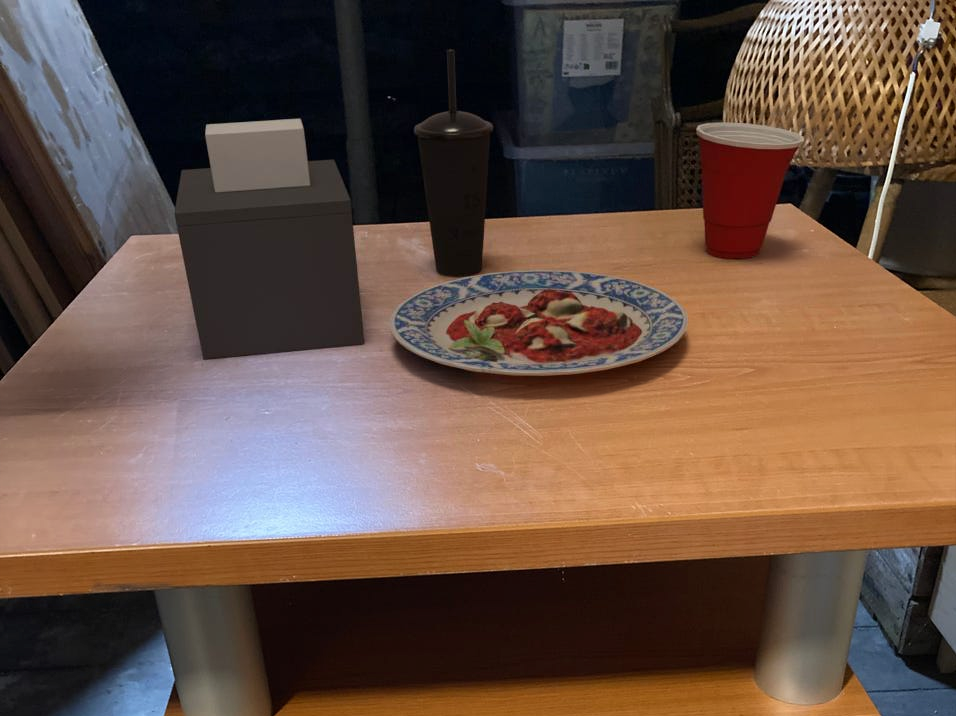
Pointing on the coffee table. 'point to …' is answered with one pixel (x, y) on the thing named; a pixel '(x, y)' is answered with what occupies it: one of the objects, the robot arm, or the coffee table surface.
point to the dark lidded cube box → (270, 264)
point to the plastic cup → (742, 183)
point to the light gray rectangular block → (257, 155)
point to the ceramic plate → (539, 322)
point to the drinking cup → (455, 183)
